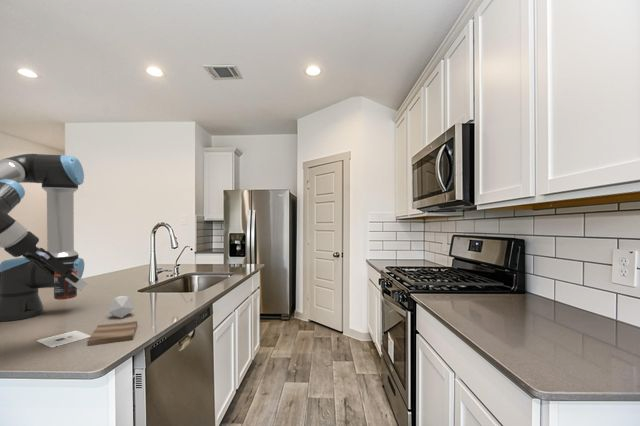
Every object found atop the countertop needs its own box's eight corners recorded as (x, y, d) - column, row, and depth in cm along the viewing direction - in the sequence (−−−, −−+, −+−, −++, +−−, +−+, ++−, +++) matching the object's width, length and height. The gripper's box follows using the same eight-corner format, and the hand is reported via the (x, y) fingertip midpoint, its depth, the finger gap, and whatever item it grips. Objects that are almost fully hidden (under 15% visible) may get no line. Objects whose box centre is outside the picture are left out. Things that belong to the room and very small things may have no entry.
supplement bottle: (80, 295, 108) (81, 261, 108) (71, 299, 102) (72, 263, 103) (60, 296, 107) (61, 261, 107) (49, 300, 101) (50, 264, 101)
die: (138, 316, 131) (136, 294, 136) (125, 311, 123) (124, 288, 128) (117, 324, 130) (116, 302, 135) (103, 319, 122) (103, 296, 127)
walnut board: (98, 329, 113) (98, 325, 113) (137, 325, 118) (137, 320, 118) (87, 345, 99) (87, 340, 99) (132, 339, 104) (132, 335, 104)
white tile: (36, 340, 102) (36, 340, 102) (76, 330, 112) (76, 330, 112) (51, 347, 97) (51, 347, 97) (92, 336, 106) (92, 336, 106)
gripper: (-9, 247, 97) (56, 292, 110) (16, 250, 87) (83, 299, 101) (15, 229, 101) (74, 274, 115) (41, 230, 92) (102, 279, 106)
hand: (78, 285), depth 108 cm, fingers closed on supplement bottle, 6 cm apart
